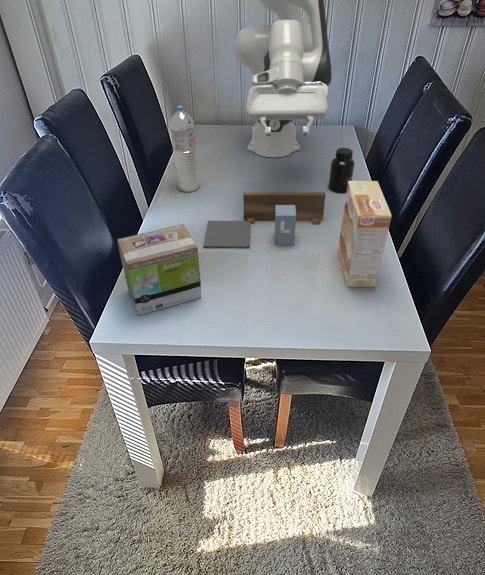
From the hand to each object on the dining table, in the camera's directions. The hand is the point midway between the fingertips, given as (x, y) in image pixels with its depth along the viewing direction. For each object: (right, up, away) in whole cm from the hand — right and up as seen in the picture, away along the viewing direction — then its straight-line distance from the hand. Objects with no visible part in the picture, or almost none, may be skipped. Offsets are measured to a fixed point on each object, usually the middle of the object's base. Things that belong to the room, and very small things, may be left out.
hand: (286, 135), depth 111 cm
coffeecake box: (+17, -33, -2) cm, 37 cm away
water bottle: (-28, -7, +29) cm, 41 cm away
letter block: (0, -25, +7) cm, 26 cm away
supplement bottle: (+19, -7, +27) cm, 34 cm away
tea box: (-29, -40, -8) cm, 50 cm away
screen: (0, -19, +14) cm, 24 cm away
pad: (-15, -24, +9) cm, 29 cm away
